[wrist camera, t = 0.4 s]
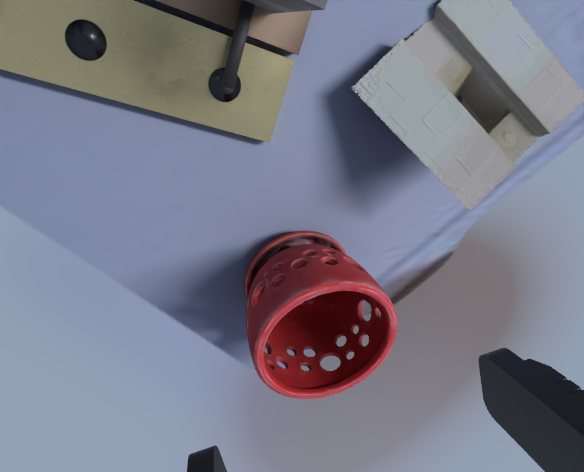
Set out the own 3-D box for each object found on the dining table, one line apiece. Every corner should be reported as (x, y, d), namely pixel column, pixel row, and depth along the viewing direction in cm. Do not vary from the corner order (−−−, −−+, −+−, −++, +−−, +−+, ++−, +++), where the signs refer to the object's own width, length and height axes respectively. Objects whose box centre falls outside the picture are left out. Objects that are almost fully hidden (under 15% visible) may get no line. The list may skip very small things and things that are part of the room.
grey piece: (340, 131, 42) (447, 230, 40) (346, 88, 33) (483, 210, 31) (447, 29, 43) (557, 119, 41) (480, -38, 34) (621, 71, 32)
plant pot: (303, 194, 39) (354, 253, 29) (364, 270, 47) (422, 339, 36) (204, 275, 40) (221, 359, 30) (278, 338, 47) (312, 423, 37)
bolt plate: (-110, 36, 25) (-119, 36, 24) (-116, -93, 23) (-127, -98, 22) (266, 140, 36) (269, 143, 35) (291, 59, 33) (294, 60, 32)
